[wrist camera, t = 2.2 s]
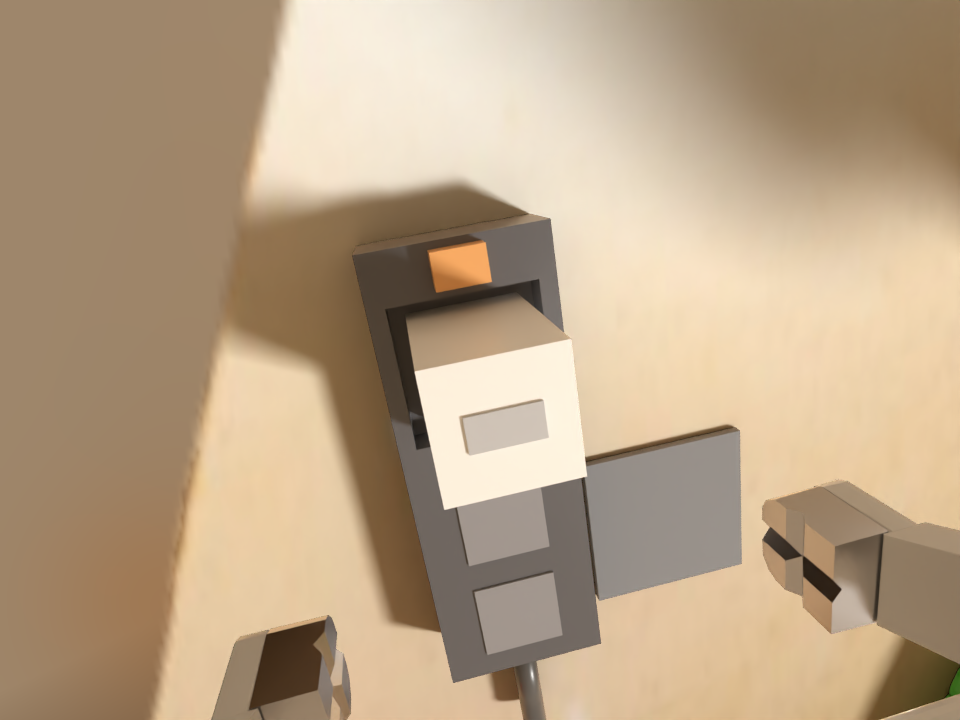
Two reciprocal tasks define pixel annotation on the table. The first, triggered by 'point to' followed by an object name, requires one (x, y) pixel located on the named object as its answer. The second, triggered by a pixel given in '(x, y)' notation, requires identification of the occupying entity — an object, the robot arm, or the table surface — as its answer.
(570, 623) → the power strip
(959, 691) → the fruit basket
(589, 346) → the table surface
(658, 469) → the mat
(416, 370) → the block
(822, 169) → the table surface
